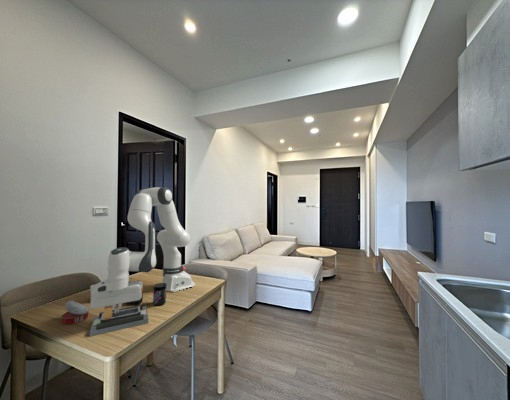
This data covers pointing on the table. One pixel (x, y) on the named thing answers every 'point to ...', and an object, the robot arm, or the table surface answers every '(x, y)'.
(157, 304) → the supplement container
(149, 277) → the table surface
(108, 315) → the toggle
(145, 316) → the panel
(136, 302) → the battery
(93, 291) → the electrical switch
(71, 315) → the canned food
